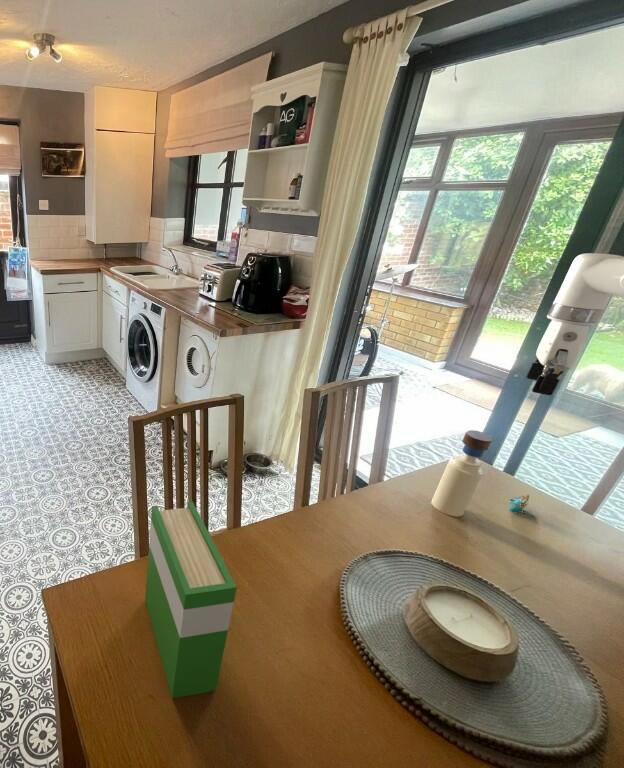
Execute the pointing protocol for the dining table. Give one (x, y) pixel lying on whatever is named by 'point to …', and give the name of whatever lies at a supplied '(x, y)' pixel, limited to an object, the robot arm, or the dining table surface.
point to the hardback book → (187, 600)
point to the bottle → (458, 482)
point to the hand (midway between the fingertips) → (537, 386)
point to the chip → (477, 440)
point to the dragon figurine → (520, 505)
